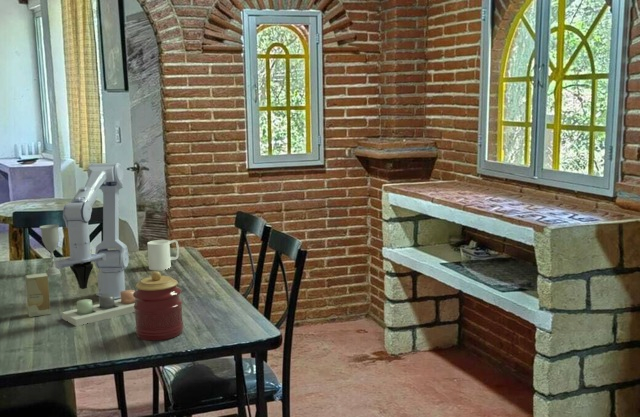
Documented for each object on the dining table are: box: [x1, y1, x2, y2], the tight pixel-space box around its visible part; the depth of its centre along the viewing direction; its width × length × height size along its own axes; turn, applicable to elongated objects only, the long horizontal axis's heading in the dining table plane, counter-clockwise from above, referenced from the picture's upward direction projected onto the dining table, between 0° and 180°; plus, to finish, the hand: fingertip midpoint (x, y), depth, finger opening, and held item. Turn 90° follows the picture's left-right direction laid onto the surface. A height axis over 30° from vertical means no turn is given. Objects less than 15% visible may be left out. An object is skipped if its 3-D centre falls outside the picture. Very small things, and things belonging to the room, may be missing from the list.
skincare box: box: [25, 272, 51, 318], centre depth 216 cm, size 6×4×12 cm
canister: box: [133, 270, 184, 341], centre depth 195 cm, size 13×13×18 cm
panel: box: [61, 298, 135, 327], centre depth 216 cm, size 10×24×2 cm, turn 132°
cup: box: [147, 239, 180, 272], centre depth 272 cm, size 8×12×10 cm
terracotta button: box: [120, 289, 136, 304], centre depth 220 cm, size 4×4×3 cm
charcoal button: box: [98, 294, 115, 309], centre depth 215 cm, size 4×4×3 cm
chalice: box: [39, 224, 61, 276], centre depth 265 cm, size 7×7×18 cm
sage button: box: [76, 298, 93, 314], centre depth 211 cm, size 4×4×3 cm
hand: (83, 288), depth 210 cm, fingers closed
